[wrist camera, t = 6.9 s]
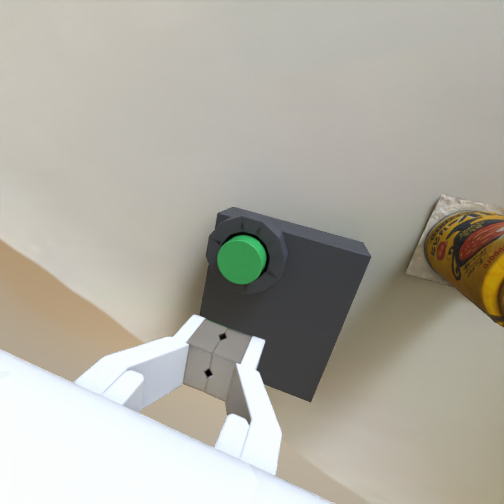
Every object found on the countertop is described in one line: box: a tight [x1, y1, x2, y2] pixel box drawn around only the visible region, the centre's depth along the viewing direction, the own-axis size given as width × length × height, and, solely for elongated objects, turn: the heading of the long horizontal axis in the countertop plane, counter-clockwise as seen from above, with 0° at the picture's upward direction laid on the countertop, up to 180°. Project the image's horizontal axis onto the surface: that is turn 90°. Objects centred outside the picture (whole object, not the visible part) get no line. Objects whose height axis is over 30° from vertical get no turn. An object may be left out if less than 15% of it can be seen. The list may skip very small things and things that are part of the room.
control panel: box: [200, 207, 371, 402], centre depth 25 cm, size 17×13×6 cm
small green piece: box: [217, 235, 267, 284], centre depth 20 cm, size 4×4×2 cm
